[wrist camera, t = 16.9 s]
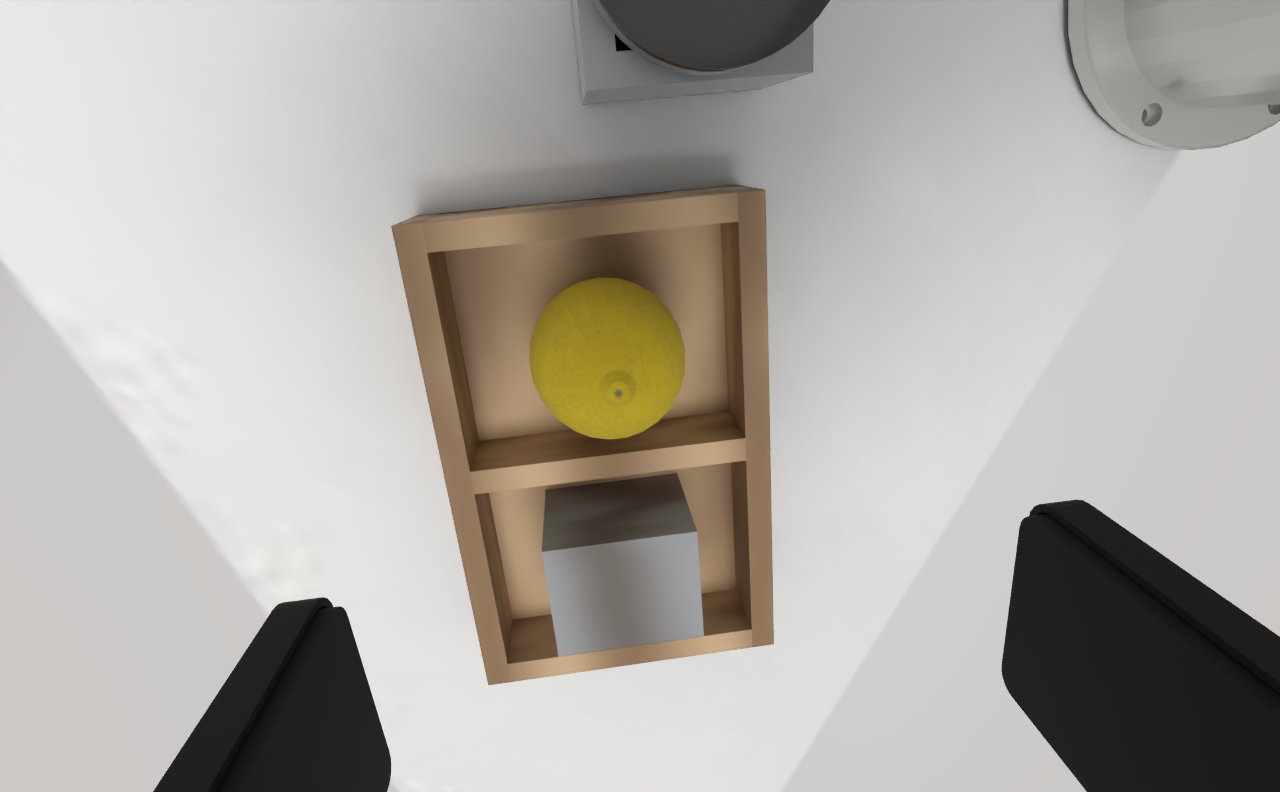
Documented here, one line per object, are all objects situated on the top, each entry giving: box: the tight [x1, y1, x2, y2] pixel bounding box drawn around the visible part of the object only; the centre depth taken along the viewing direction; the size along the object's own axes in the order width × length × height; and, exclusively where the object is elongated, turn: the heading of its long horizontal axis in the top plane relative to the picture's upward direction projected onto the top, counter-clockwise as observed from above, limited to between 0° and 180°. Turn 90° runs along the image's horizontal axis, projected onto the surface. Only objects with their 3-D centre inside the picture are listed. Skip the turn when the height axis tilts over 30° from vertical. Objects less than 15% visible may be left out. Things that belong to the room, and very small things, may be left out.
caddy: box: [391, 185, 774, 685], centre depth 28 cm, size 13×20×6 cm, turn 5°
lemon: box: [529, 277, 685, 439], centre depth 24 cm, size 6×6×8 cm
